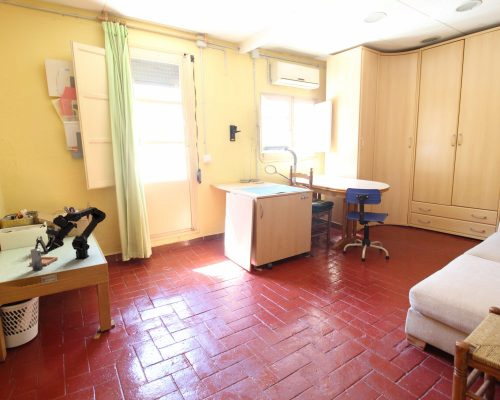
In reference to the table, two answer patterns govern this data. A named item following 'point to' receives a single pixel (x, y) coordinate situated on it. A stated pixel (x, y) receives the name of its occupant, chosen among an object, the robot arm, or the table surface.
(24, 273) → the table surface
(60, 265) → the table surface
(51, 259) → the tray
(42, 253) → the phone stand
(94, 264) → the table surface
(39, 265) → the canister
